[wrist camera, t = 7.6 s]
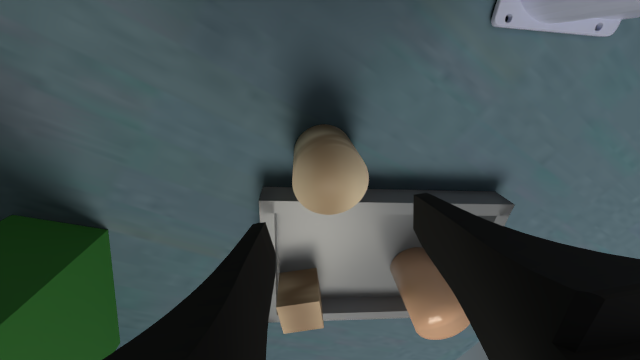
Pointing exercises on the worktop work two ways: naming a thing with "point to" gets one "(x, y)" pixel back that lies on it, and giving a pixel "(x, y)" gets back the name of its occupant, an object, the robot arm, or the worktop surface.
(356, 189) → the beige oval piece
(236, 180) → the worktop surface
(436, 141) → the worktop surface
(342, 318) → the tray
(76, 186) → the worktop surface
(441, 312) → the tan rounded cylinder
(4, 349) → the hardback book
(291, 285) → the oak cube
